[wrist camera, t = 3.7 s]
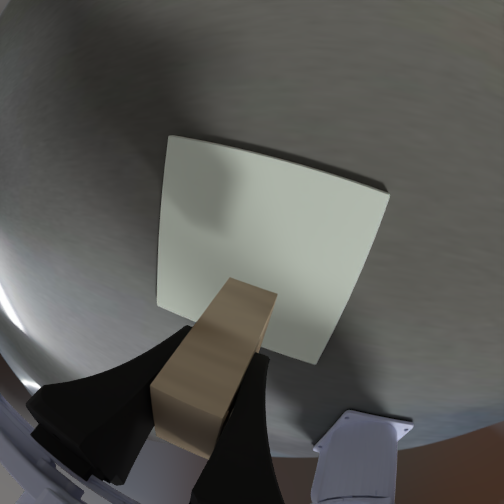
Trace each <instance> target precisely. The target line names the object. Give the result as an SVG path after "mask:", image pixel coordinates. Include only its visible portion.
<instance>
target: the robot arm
mask: <svg viewBox="0 0 504 504" xmlns="http://www.w3.org/2000/svg"><path fill="white" fill-rule="evenodd" d="M192 328H193V327H191V326H188V325H187V326H184V327H183V328H182V329H180V330H179V331H178V332H176V333H175V334H173V335H172V336H170V337H169V338H168V339H166V340H165V341H163V342H162V343H160V344H158V345H157V346H155V347H153V348H152V349H150V350H149V351H147V352H145V353H143V354H142V355H140V356H138V357H136V358H134V359H132V360H130V361H128V362H126V363H124V364H122V365H120V366H117V367H115V368H113V369H110V370H107V371H105V372H102V373H99V374H96V375H93V376H90V377H86V378H82V379H78V380H74V381H69V382H63V383H56V384H49V385H44V386H42V387H41V388H40V389H39V390H38V391H37V392H36V393H35V394H34V395H33V396H32V397H31V398H30V399H29V400H28V402H27V403H26V407H27V408H28V410H29V411H30V413H31V414H32V416H33V417H34V418H35V420H36V421H37V422H38V423H39V425H38V426H37V427H36V428H35V429H34V428H33V427H32V426H31V425H30V424H29V423H28V422H27V421H26V420H25V419H24V418H23V417H22V416H21V415H20V414H19V413H18V412H17V411H16V410H15V409H14V408H13V407H12V406H11V405H10V404H9V403H8V402H7V400H6V399H5V398H4V397H3V396H2V395H1V393H0V463H1V464H2V465H3V466H4V468H5V469H6V470H7V471H8V472H9V474H10V475H11V476H12V477H13V478H14V479H15V480H16V481H17V482H18V484H19V485H20V486H21V487H22V488H23V489H24V490H25V491H24V492H23V494H22V495H21V496H20V498H19V499H18V500H17V501H16V503H15V504H87V503H86V502H84V501H83V500H81V497H82V495H83V494H84V491H83V490H82V489H81V488H79V487H78V486H77V485H75V484H74V483H73V482H71V481H70V480H69V479H68V478H67V477H65V476H64V475H63V474H61V473H60V472H59V471H58V470H57V469H56V464H57V465H58V466H60V467H61V468H62V469H63V470H65V471H66V472H67V473H69V474H70V475H71V476H72V477H74V478H75V479H77V480H78V481H79V482H81V483H82V484H83V485H85V486H86V487H88V488H89V489H91V490H92V491H94V492H95V493H97V494H98V495H100V496H101V497H103V498H105V499H106V500H108V501H109V502H111V503H112V504H140V503H138V502H137V501H135V500H133V499H131V498H129V497H127V496H125V495H124V494H122V493H121V492H119V491H117V490H115V489H114V488H112V487H111V486H109V485H107V484H106V483H104V482H103V480H105V481H106V482H108V483H113V484H114V485H123V484H124V483H125V481H126V479H127V477H128V474H129V472H130V470H131V468H132V466H133V464H134V462H135V460H136V458H137V456H138V454H139V452H140V450H141V448H142V447H143V445H144V443H145V441H146V439H147V437H148V436H149V434H150V432H151V430H152V429H153V427H154V419H153V411H152V404H151V395H150V385H151V383H152V382H153V381H154V379H155V378H156V376H157V375H158V374H159V372H160V371H161V370H162V368H163V367H164V366H165V364H166V363H167V361H168V360H169V359H170V357H171V356H172V355H173V353H174V352H175V351H176V349H177V348H178V347H179V345H180V344H181V342H182V341H183V340H184V338H185V337H186V336H187V334H188V333H189V332H190V330H191V329H192ZM269 361H270V359H269V357H268V356H265V355H262V354H260V353H257V352H255V353H254V355H253V357H252V359H251V361H250V363H249V365H248V367H247V370H246V372H245V375H244V378H243V381H242V384H241V387H240V390H239V393H238V396H237V399H236V402H235V405H234V408H233V411H232V413H231V416H230V418H229V420H228V422H227V424H226V426H225V428H224V430H223V432H222V434H221V436H220V438H219V440H218V442H217V444H216V446H215V448H214V450H213V452H212V454H211V456H210V458H209V460H208V462H207V464H206V466H205V468H204V469H203V471H202V473H201V475H200V477H199V479H198V480H197V482H196V484H195V486H194V488H193V489H192V493H191V499H190V503H189V504H285V503H284V500H283V498H282V495H281V492H280V489H279V486H278V482H277V479H276V475H275V472H274V467H273V463H272V459H271V454H270V448H269V442H268V435H267V426H266V410H265V389H266V376H267V369H268V364H269ZM413 427H414V423H412V422H407V421H402V420H396V419H391V418H385V417H380V416H376V415H371V414H366V413H362V412H357V411H353V410H347V411H345V412H344V413H343V414H342V416H341V417H340V418H339V419H338V420H337V421H336V423H335V424H334V425H333V426H332V427H331V428H330V429H329V430H328V432H327V433H326V434H325V435H324V436H323V437H322V438H321V439H320V440H319V441H318V442H317V443H316V445H315V446H314V447H313V450H314V451H316V452H320V455H319V460H318V464H317V469H316V474H315V477H314V481H313V486H312V490H311V499H312V502H313V503H311V504H395V503H394V498H395V485H396V468H397V441H398V440H399V439H400V438H402V437H403V436H404V435H405V434H406V433H407V432H409V431H410V430H411V429H412V428H413ZM54 462H55V463H56V464H55V463H54Z"/></svg>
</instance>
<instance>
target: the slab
mask: <svg viewBox="0 0 504 504" xmlns="http://www.w3.org/2000/svg"><path fill="white" fill-rule="evenodd" d="M277 295H278V294H277V293H274V292H271V291H268V290H265V289H262V288H259V287H256V286H253V285H251V284H248V283H245V282H242V281H239V280H236V279H234V278H231V277H229V279H228V280H227V281H226V283H225V284H224V286H223V287H222V288H221V290H220V291H219V292H218V294H217V295H216V296H215V298H214V299H213V300H212V302H211V303H210V304H209V306H208V307H207V309H206V310H205V311H204V313H203V314H202V315H201V317H200V318H199V319H198V321H197V322H196V323H195V325H194V326H193V328H192V329H191V330H190V332H189V333H188V334H187V336H186V337H185V338H184V340H183V341H182V342H181V344H180V345H179V347H178V348H177V349H176V351H175V352H174V353H173V355H172V356H171V357H170V359H169V360H168V361H167V363H166V364H165V366H164V367H163V368H162V370H161V371H160V372H159V374H158V375H157V376H156V378H155V379H154V381H153V382H152V383H151V385H150V395H151V404H152V411H153V419H154V426H155V431H156V436H158V437H160V438H162V439H164V440H166V441H168V442H170V443H172V444H174V445H176V446H178V447H181V448H183V449H185V450H187V451H189V452H192V453H194V454H197V455H199V456H201V457H204V458H206V459H209V458H210V456H211V454H212V452H213V450H214V448H215V446H216V444H217V442H218V440H219V438H220V436H221V434H222V432H223V430H224V428H225V426H226V424H227V422H228V420H229V418H230V416H231V413H232V411H233V408H234V405H235V402H236V399H237V396H238V393H239V390H240V387H241V384H242V381H243V378H244V375H245V372H246V370H247V367H248V365H249V363H250V361H251V359H252V357H253V355H254V353H255V352H257V353H259V350H260V347H261V344H262V341H263V338H264V335H265V332H266V329H267V326H268V323H269V320H270V317H271V314H272V311H273V308H274V305H275V302H276V299H277Z"/></svg>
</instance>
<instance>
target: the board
mask: <svg viewBox="0 0 504 504" xmlns="http://www.w3.org/2000/svg"><path fill="white" fill-rule="evenodd" d="M389 197H390V194H389V193H388V192H385V191H382V190H379V189H377V188H374V187H371V186H368V185H365V184H362V183H359V182H356V181H354V180H351V179H347V178H344V177H341V176H338V175H335V174H332V173H329V172H326V171H322V170H319V169H316V168H312V167H309V166H305V165H302V164H298V163H295V162H291V161H288V160H284V159H280V158H277V157H273V156H269V155H265V154H261V153H257V152H253V151H249V150H244V149H240V148H236V147H231V146H227V145H222V144H217V143H213V142H208V141H203V140H197V139H192V138H187V137H181V136H176V135H171V136H169V137H168V144H167V152H166V160H165V169H164V179H163V189H162V200H161V213H160V227H159V245H158V271H157V306H159V307H162V308H164V309H166V310H169V311H171V312H173V313H175V314H178V315H180V316H183V317H185V318H187V319H190V320H192V321H194V322H197V321H198V319H199V318H200V317H201V315H202V314H203V313H204V311H205V310H206V309H207V307H208V306H209V304H210V303H211V302H212V300H213V299H214V298H215V296H216V295H217V294H218V292H219V291H220V290H221V288H222V287H223V286H224V284H225V283H226V281H227V280H228V279H229V277H231V278H234V279H236V280H239V281H242V282H245V283H248V284H251V285H253V286H256V287H259V288H262V289H265V290H268V291H271V292H274V293H277V294H278V295H277V299H276V302H275V305H274V308H273V311H272V314H271V317H270V320H269V323H268V326H267V329H266V332H265V335H264V338H263V341H262V344H261V347H263V348H265V349H268V350H271V351H274V352H277V353H280V354H283V355H286V356H289V357H292V358H295V359H298V360H301V361H305V362H308V363H311V364H314V365H316V363H317V362H318V360H319V358H320V356H321V354H322V352H323V350H324V348H325V346H326V344H327V343H328V341H329V339H330V337H331V335H332V333H333V331H334V329H335V327H336V325H337V323H338V321H339V318H340V316H341V314H342V312H343V310H344V308H345V306H346V304H347V302H348V299H349V297H350V295H351V293H352V291H353V288H354V286H355V284H356V282H357V279H358V277H359V275H360V272H361V270H362V268H363V265H364V263H365V261H366V258H367V256H368V253H369V251H370V248H371V246H372V243H373V241H374V238H375V236H376V233H377V231H378V228H379V225H380V223H381V220H382V217H383V214H384V212H385V209H386V206H387V203H388V200H389Z"/></svg>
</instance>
